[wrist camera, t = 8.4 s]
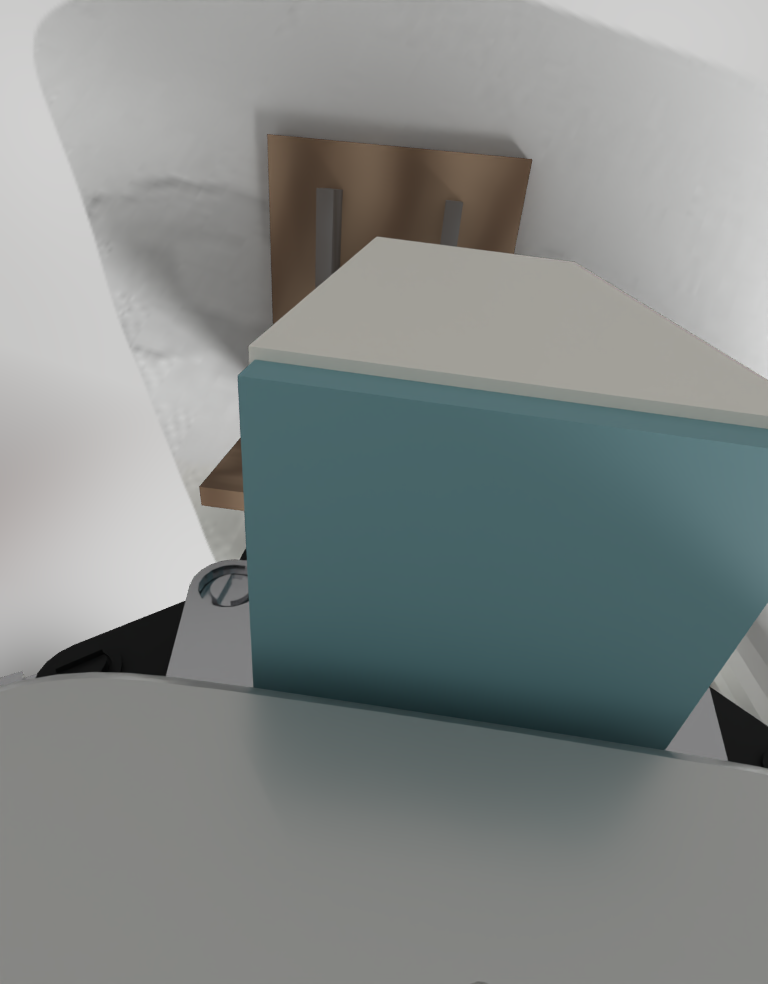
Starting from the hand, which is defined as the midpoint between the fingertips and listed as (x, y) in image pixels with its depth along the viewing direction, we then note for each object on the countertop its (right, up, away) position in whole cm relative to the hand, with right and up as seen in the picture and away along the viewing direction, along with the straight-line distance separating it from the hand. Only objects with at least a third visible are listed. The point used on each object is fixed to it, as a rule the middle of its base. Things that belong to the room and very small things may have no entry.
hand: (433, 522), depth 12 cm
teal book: (0, +2, +3) cm, 3 cm away
